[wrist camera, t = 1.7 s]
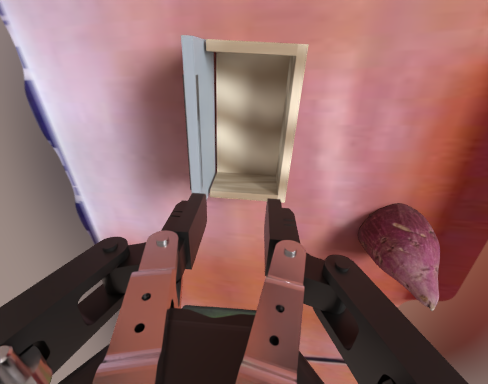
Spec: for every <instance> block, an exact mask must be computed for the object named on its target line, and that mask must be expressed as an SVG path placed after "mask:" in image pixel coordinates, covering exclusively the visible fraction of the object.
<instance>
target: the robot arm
mask: <svg viewBox="0 0 488 384" xmlns="http://www.w3.org/2000/svg"><path fill="white" fill-rule="evenodd" d="M206 222H207V204H206V194H203V193H192V194H191V196H190V198H189V200H188V201H181V202H180V203H178V204H177V205H176V206H175V208H174V210H173V212H172V213H171V215H170V216H169V218H168V220H167V222H166V223H165V225H164V227H163V229H162V230H161V231H159V232H156V233H154V234H152V235H151V236H150V237H149V238H148V239H147V242H145V243H141V244H134V245H128V243H127V240H126V239H124V238H122V237H110V238H107V239H104V240H102V241H100V242H99V243H97V244H96V245H94V246H92V247H91V248H90V249H88V250H86V251H85V252H84V253H82V254H80V255H79V256H78V257H76V258H74V259H73V260H71V261H70V262H68V263H67V264H65V265H64V266H62V267H61V268H59V269H58V270H56V271H55V272H53V273H52V274H50V275H49V276H47V277H46V278H44V279H43V280H41V281H39V282H38V283H37V284H35V285H33V286H32V287H30V288H29V289H27V290H26V291H24V292H23V293H21V294H20V295H18V296H17V297H15V298H14V299H12V300H11V301H9V302H8V303H6V304H5V305H3V306H2V307H0V384H50V382H51V379H52V375H53V374H54V373H55V372H56V371H57V370H58V369H59V368H60V367H61V366H62V365H63V364H64V363H65V362H66V361H67V360H68V359H69V358H70V357H71V356H72V355H73V354H74V353H75V352H76V351H77V350H79V349H80V347H81V346H82V345H84V344H85V343H86V342H87V341H88V340H89V339H90V338H91V337H92V336H93V335H94V334H95V333H96V332H97V331H98V330H99V329H100V327H102V326H103V325H104V324H105V323H106V322H107V321H108V320H109V319H110V318H111V317H112V316H113V315H114V314H115V313H116V312H117V311H118V310H119V309H120V308H121V309H120V312H119V315H118V319H117V322H116V325H115V329H114V332H113V335H112V338H111V341H110V344H109V345H107V346H106V347H105V348H103V349H102V350H101V351H100V352H98V353H97V354H96V355H94V356H93V357H92V358H91V359H89V360H88V361H87V362H85V363H84V364H83V365H81V366H80V367H79V368H77V369H76V370H75V371H73V372H72V373H71V374H70V375H68V376H67V377H66V378H65V379H63V380H62V381H60V382H59V383H58V384H324V382H323V381H322V380H321V379H320V377H319V376H318V375H317V373H316V372H315V371H314V369H313V368H312V367H311V365H310V364H309V363H308V362H307V360H306V359H305V358H304V356H303V355H302V354H301V352H300V351H299V344H300V333H301V322H302V310H303V303H304V304H306V305H309V306H312V307H313V309H314V311H315V313H316V315H317V316H318V318H319V320H320V321H321V323H322V325H323V326H324V328H325V330H326V331H327V333H328V334H329V336H330V338H331V339H332V341H333V343H334V344H335V346H336V348H337V349H338V351H339V353H340V354H341V356H342V358H343V359H344V361H345V362H346V364H347V366H348V367H349V369H350V371H351V372H352V374H353V376H354V377H355V379H356V381H357V382H358V384H468V383H467V382H466V381H465V380H464V378H462V376H461V375H460V374H459V373H458V372H457V371H456V370H455V369H454V368H453V367H452V366H451V365H450V364H449V363H448V362H447V360H446V359H445V358H444V357H443V356H442V355H441V354H440V353H439V352H438V351H437V350H436V349H435V348H434V347H433V345H431V343H430V342H429V341H428V340H427V339H426V338H425V337H424V336H423V335H422V334H421V333H420V332H419V331H418V330H417V328H416V327H415V326H414V325H413V324H412V323H411V322H410V321H409V320H408V319H407V318H406V317H405V316H404V315H403V314H402V312H400V310H399V309H398V308H397V307H396V306H395V305H394V304H393V303H392V302H391V301H390V300H389V299H388V298H387V297H386V295H385V294H384V293H383V292H382V291H381V290H380V289H379V288H378V287H377V286H376V285H375V284H374V283H373V282H372V281H371V280H370V278H369V277H368V276H367V275H366V274H365V273H364V272H363V271H362V270H361V269H360V268H359V267H358V266H357V265H356V264H355V263H354V262H353V261H352V260H351V259H349V258H347V257H345V256H342V255H330V256H328V257H327V258H326V259H325V260H322V259H318V258H315V257H313V256H311V255H309V254H307V253H306V250H305V248H304V247H303V246H302V245H301V244H300V240H299V235H298V230H297V226H296V221H295V216H294V213H293V212H292V211H291V210H290V209H289V208H282V206H281V200H280V199H271V198H268V199H267V206H266V216H265V227H264V242H265V276H266V278H265V282H264V285H263V289H262V293H261V296H260V300H259V304H258V307H257V311H256V315H248V314H236V315H230V316H224V317H217V318H211V317H208V316H206V315H203V314H200V313H197V312H194V311H192V310H189V309H181V298H182V285H183V273H184V270H185V269H192V267H193V264H194V261H195V258H196V254H197V251H198V248H199V245H200V242H201V239H202V236H203V233H204V230H205V227H206ZM100 280H102V281H103V284H102V285H101V286H100V287H98V288H97V289H96V290H95V291H93V292H92V293H91V294H90V295H89V296H87V297H86V298H85V299H84V300H83V301H81V302H80V303H79V304H78V301H79V299H80V298H81V296H82V295H83V294H84V293H85V292H87V291H88V290H89V289H90V288H91V287H93V286H94V285H96V284H97V283H98V282H99V281H100Z"/></svg>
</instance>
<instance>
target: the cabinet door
mask: <svg viewBox="0 0 488 384" xmlns="http://www.w3.org/2000/svg"><path fill="white" fill-rule="evenodd" d="M181 41H182V56H183V71H184V74H183V88H184V103H185V117H186V131H187V145H188V160H189V174H190V188H191V190H192V193H203V194H206V200H207V198H208V195H209V193H210V189H211V187H212V184H213V181H214V179H215V113H214V52H211V51H206V40H205V39H201V38H198V37H195V36H187V35H181Z"/></svg>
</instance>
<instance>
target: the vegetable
mask: <svg viewBox="0 0 488 384" xmlns="http://www.w3.org/2000/svg"><path fill="white" fill-rule="evenodd" d="M358 238H359V240H360V242H361V244H362V246H363V247H364V249H365V250H366V252H367V253H368V254H369V256H370V257H371V258H372V259H373V261H374V262H375V263H376V264H377V265H378V266H379V267H380V268H381V269H382V270H383V271H384V272H386V273H387V274H388V275H390V276H391V277H393V278H394V279H395V280H397V281H398V282H399V283H400V284H402V285H403V286H404V287H405V288H406V289H407V290H409V291H410V292H411V293H412V294H413V295H414V297H415V298H416V299H417V300H419V301H420V302H421V303H422V304H423V305H425V306H427V307H429V308H430V310H431V311H433V310H434V308H435V306H436V305H437V303H438V300H439V291H438V267H439V259H440V246H439V242H438V239H437V237H436V235H435V233H434V231H433V229H432V227H431V225H430V224H429V222H428V221H427V220H426V218H425V217H424V216H423V215H422V214H421V213H419V212H418V211H417V210H415V209H413V208H412V207H410V206H408V205H405V204H399V203H398V204H393V205H390V206H387V207H384V208H381V209H379V210H377V211H376V212H374V213H373V214H371V215H369V217H368V218H367V219H366V220H365V222H364V223H363V224H362V226H361V227H360V229H359V233H358Z"/></svg>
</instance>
